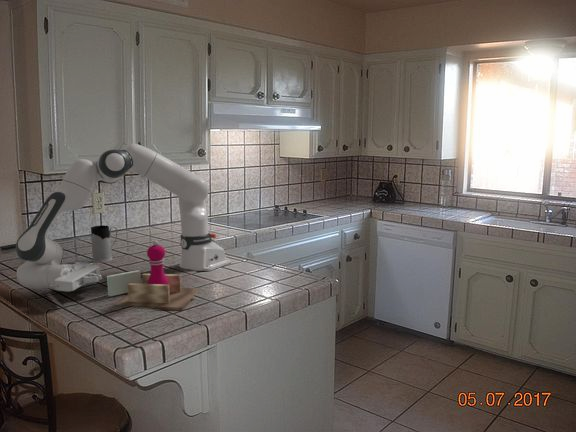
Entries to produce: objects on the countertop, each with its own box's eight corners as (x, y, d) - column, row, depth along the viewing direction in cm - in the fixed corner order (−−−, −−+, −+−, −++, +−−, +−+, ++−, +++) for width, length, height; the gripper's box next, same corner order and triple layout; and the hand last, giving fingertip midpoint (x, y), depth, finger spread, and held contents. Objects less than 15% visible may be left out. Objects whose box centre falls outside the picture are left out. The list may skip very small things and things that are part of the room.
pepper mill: (171, 293, 186) (168, 238, 182) (166, 300, 179) (163, 243, 175) (150, 293, 186) (147, 238, 182) (145, 301, 179) (141, 243, 175)
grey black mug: (87, 261, 234) (84, 228, 231) (111, 253, 247) (109, 222, 244) (101, 263, 230) (99, 229, 227) (125, 255, 242) (123, 223, 240)
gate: (108, 295, 184) (106, 276, 183) (140, 288, 191) (138, 270, 190) (109, 296, 183) (108, 277, 182) (141, 289, 190) (140, 270, 188)
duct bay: (113, 307, 176) (111, 287, 174) (138, 288, 195) (136, 270, 194) (182, 310, 172) (181, 289, 171) (201, 290, 192) (200, 272, 190)
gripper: (44, 277, 175) (83, 278, 173) (77, 260, 195) (112, 262, 193) (46, 295, 177) (84, 296, 175) (78, 277, 196) (113, 278, 195)
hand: (99, 278), depth 184 cm, fingers closed
